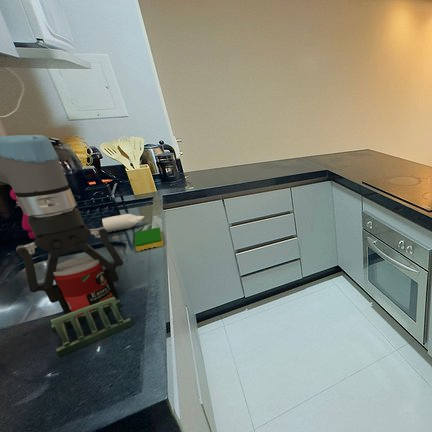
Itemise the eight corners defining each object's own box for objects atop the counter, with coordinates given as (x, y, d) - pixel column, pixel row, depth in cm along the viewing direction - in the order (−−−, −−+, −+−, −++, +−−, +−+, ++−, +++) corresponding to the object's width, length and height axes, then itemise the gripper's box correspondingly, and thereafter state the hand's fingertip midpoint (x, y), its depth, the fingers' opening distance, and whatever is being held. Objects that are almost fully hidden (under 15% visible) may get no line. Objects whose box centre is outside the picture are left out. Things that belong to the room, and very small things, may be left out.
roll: (147, 227, 114) (142, 213, 112) (106, 234, 108) (101, 220, 106) (147, 222, 119) (143, 209, 117) (108, 229, 112) (102, 216, 110)
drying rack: (59, 357, 55) (42, 324, 52) (53, 330, 62) (38, 300, 59) (132, 325, 63) (121, 295, 60) (120, 304, 70) (110, 277, 67)
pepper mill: (30, 241, 103) (3, 185, 96) (26, 236, 107) (0, 183, 100) (59, 234, 109) (36, 181, 102) (54, 229, 113) (31, 178, 106)
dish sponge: (161, 232, 109) (159, 226, 108) (163, 245, 99) (161, 239, 98) (136, 238, 105) (134, 231, 104) (136, 252, 95) (134, 245, 94)
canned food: (100, 313, 67) (82, 271, 63) (59, 317, 66) (38, 274, 62) (122, 293, 74) (107, 254, 70) (86, 296, 73) (69, 257, 69)
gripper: (-30, 231, 52) (26, 334, 60) (120, 203, 67) (149, 288, 75) (-27, 221, 56) (25, 318, 64) (112, 197, 71) (141, 278, 79)
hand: (91, 302), depth 70 cm, fingers closed on canned food, 8 cm apart
